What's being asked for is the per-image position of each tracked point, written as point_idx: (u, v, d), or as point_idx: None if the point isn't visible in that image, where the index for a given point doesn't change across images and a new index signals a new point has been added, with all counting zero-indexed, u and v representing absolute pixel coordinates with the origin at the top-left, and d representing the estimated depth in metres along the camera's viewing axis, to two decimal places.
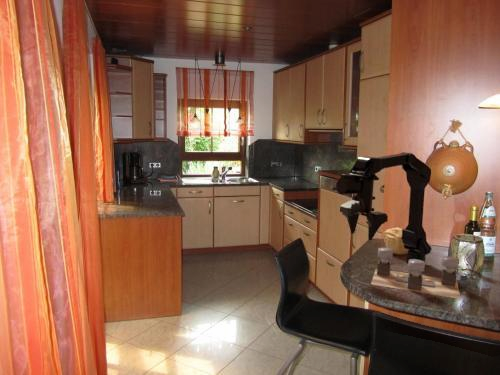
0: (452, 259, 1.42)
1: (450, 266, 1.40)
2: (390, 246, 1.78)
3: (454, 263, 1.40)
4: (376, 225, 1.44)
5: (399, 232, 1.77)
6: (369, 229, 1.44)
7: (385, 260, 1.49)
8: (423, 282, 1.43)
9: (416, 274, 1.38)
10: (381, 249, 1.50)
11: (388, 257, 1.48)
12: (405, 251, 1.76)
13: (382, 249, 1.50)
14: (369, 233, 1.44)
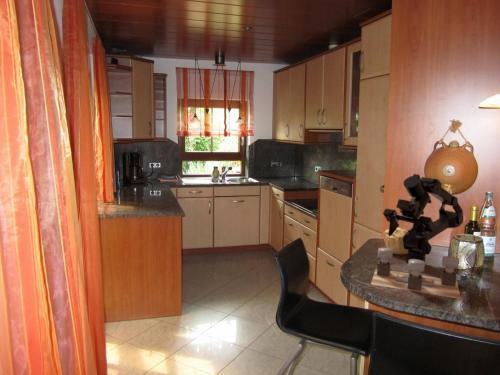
0: (452, 259, 1.42)
1: (450, 266, 1.40)
2: (390, 246, 1.78)
3: (454, 263, 1.40)
4: (417, 231, 1.52)
5: (399, 232, 1.77)
6: (412, 229, 1.51)
7: (385, 260, 1.49)
8: (423, 282, 1.43)
9: (416, 274, 1.38)
10: (381, 249, 1.50)
11: (388, 257, 1.48)
12: (405, 251, 1.76)
13: (382, 249, 1.50)
14: (410, 233, 1.51)
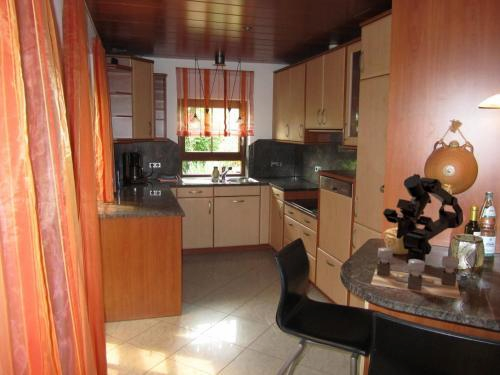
0: (452, 259, 1.42)
1: (450, 266, 1.40)
2: (390, 246, 1.78)
3: (454, 263, 1.40)
4: (409, 228, 1.55)
5: None
6: (403, 227, 1.54)
7: (385, 260, 1.49)
8: (423, 282, 1.43)
9: (416, 274, 1.38)
10: (381, 249, 1.50)
11: (388, 257, 1.48)
12: (405, 251, 1.76)
13: (382, 249, 1.50)
14: (402, 231, 1.53)
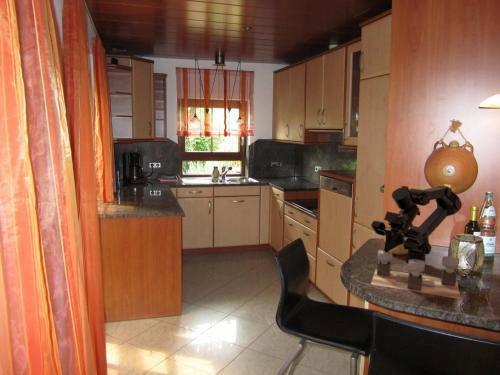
0: (452, 259, 1.42)
1: (450, 266, 1.40)
2: None
3: (454, 263, 1.40)
4: (397, 242, 1.51)
5: None
6: (391, 240, 1.50)
7: (385, 262, 1.50)
8: (423, 282, 1.43)
9: (416, 274, 1.38)
10: (381, 251, 1.50)
11: (388, 259, 1.48)
12: (405, 251, 1.76)
13: (382, 251, 1.50)
14: (390, 244, 1.50)
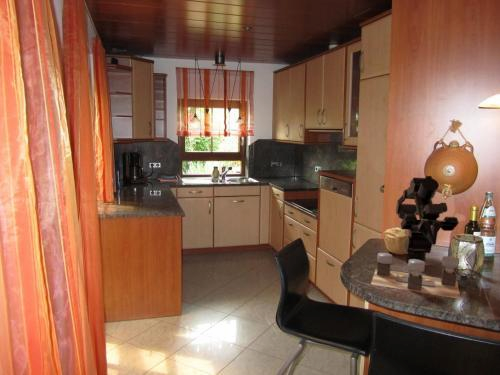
0: (452, 259, 1.42)
1: (450, 266, 1.40)
2: (390, 246, 1.78)
3: (454, 263, 1.40)
4: None
5: (399, 232, 1.77)
6: (435, 232, 1.49)
7: None
8: (423, 282, 1.43)
9: (416, 274, 1.38)
10: (381, 254, 1.51)
11: (388, 262, 1.48)
12: (405, 251, 1.76)
13: (382, 254, 1.51)
14: (436, 236, 1.48)
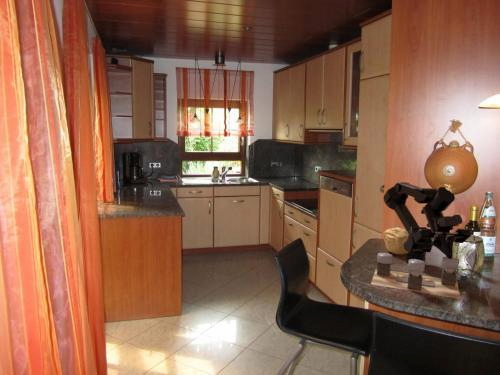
0: (452, 259, 1.42)
1: (450, 266, 1.40)
2: (390, 246, 1.78)
3: (454, 263, 1.40)
4: None
5: (399, 232, 1.77)
6: (451, 245, 1.44)
7: None
8: (423, 282, 1.43)
9: (416, 274, 1.38)
10: (381, 254, 1.51)
11: (388, 262, 1.48)
12: (405, 251, 1.76)
13: (382, 254, 1.51)
14: (451, 249, 1.43)
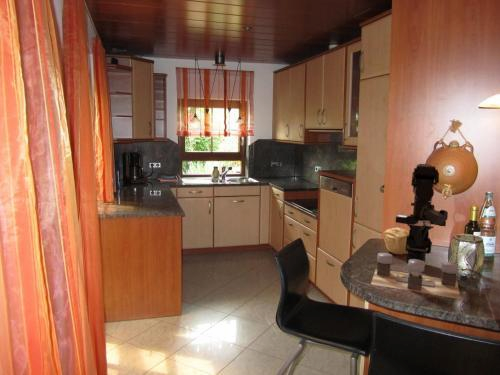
0: (451, 264, 1.42)
1: (449, 272, 1.41)
2: (390, 246, 1.78)
3: (453, 268, 1.40)
4: None
5: (399, 232, 1.77)
6: (424, 234, 1.49)
7: None
8: (423, 282, 1.43)
9: (416, 274, 1.38)
10: (381, 254, 1.51)
11: (388, 262, 1.48)
12: (405, 251, 1.76)
13: (382, 254, 1.51)
14: (423, 238, 1.49)
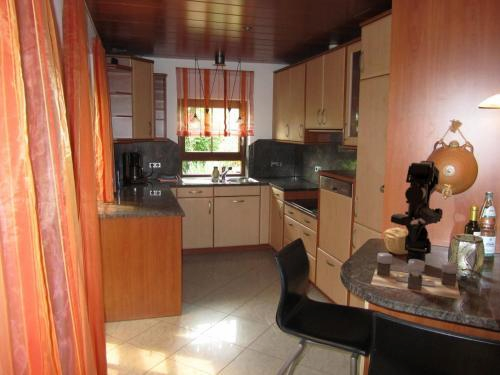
0: (451, 264, 1.42)
1: (449, 272, 1.41)
2: (390, 246, 1.78)
3: (453, 268, 1.40)
4: None
5: (399, 232, 1.77)
6: (419, 231, 1.50)
7: None
8: (423, 282, 1.43)
9: (416, 274, 1.38)
10: (381, 254, 1.51)
11: (388, 262, 1.48)
12: (405, 251, 1.76)
13: (382, 254, 1.51)
14: (418, 234, 1.51)
